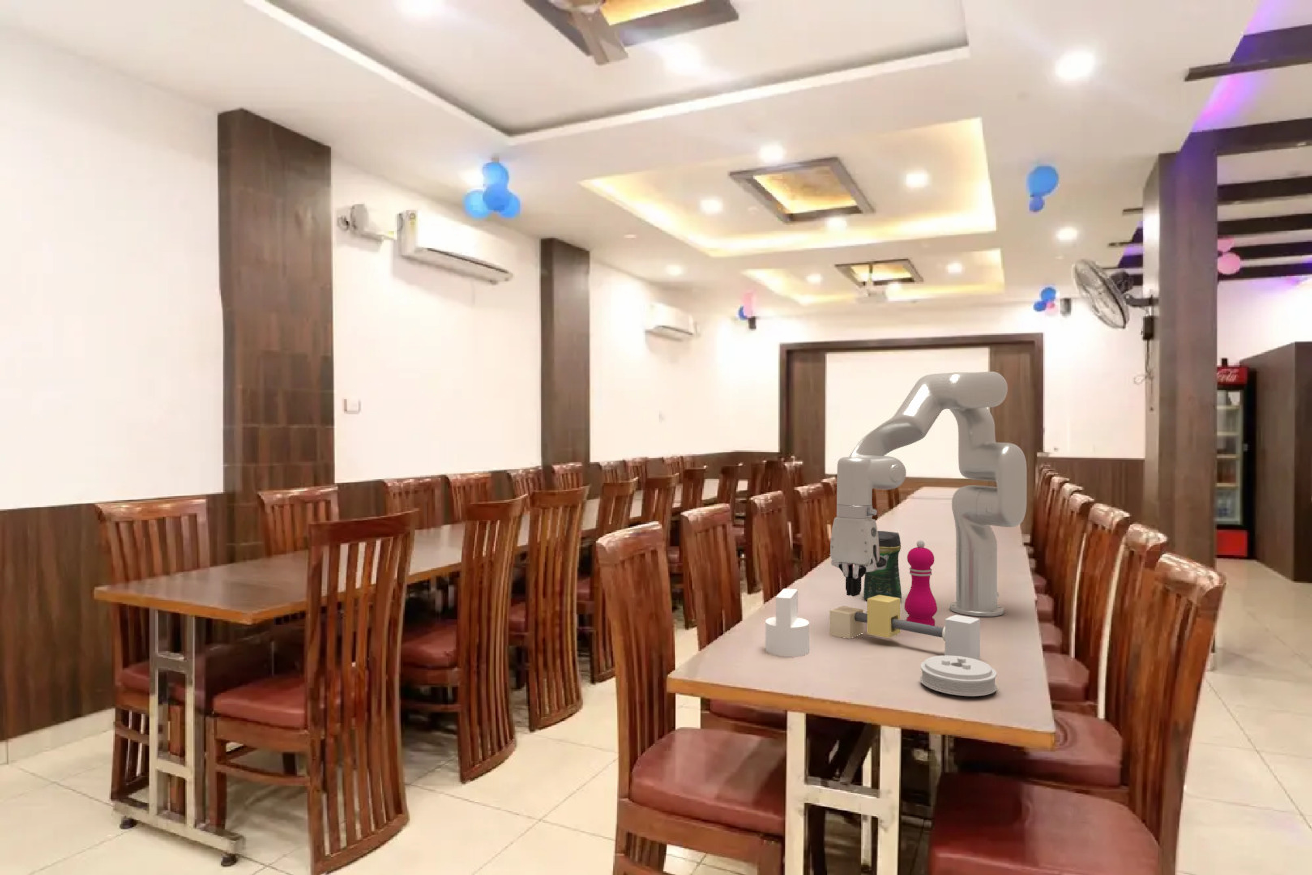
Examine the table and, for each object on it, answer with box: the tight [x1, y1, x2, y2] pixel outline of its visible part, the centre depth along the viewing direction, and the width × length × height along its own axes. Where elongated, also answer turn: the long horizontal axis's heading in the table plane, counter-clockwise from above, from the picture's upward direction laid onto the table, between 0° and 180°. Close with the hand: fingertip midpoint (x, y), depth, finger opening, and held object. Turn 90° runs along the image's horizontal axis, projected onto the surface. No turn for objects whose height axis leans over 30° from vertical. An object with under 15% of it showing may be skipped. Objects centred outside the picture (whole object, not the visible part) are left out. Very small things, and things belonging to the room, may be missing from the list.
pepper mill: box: [903, 540, 938, 626], centre depth 176 cm, size 7×7×20 cm
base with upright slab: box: [765, 588, 810, 658], centre depth 158 cm, size 9×9×12 cm
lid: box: [919, 655, 998, 697], centre depth 135 cm, size 13×13×5 cm
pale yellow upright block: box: [866, 595, 901, 639], centre depth 163 cm, size 5×5×8 cm
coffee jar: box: [862, 530, 902, 601], centre depth 202 cm, size 10×8×19 cm
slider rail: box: [829, 605, 981, 660], centre depth 160 cm, size 6×31×8 cm, turn 46°
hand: (853, 594), depth 168 cm, fingers closed
